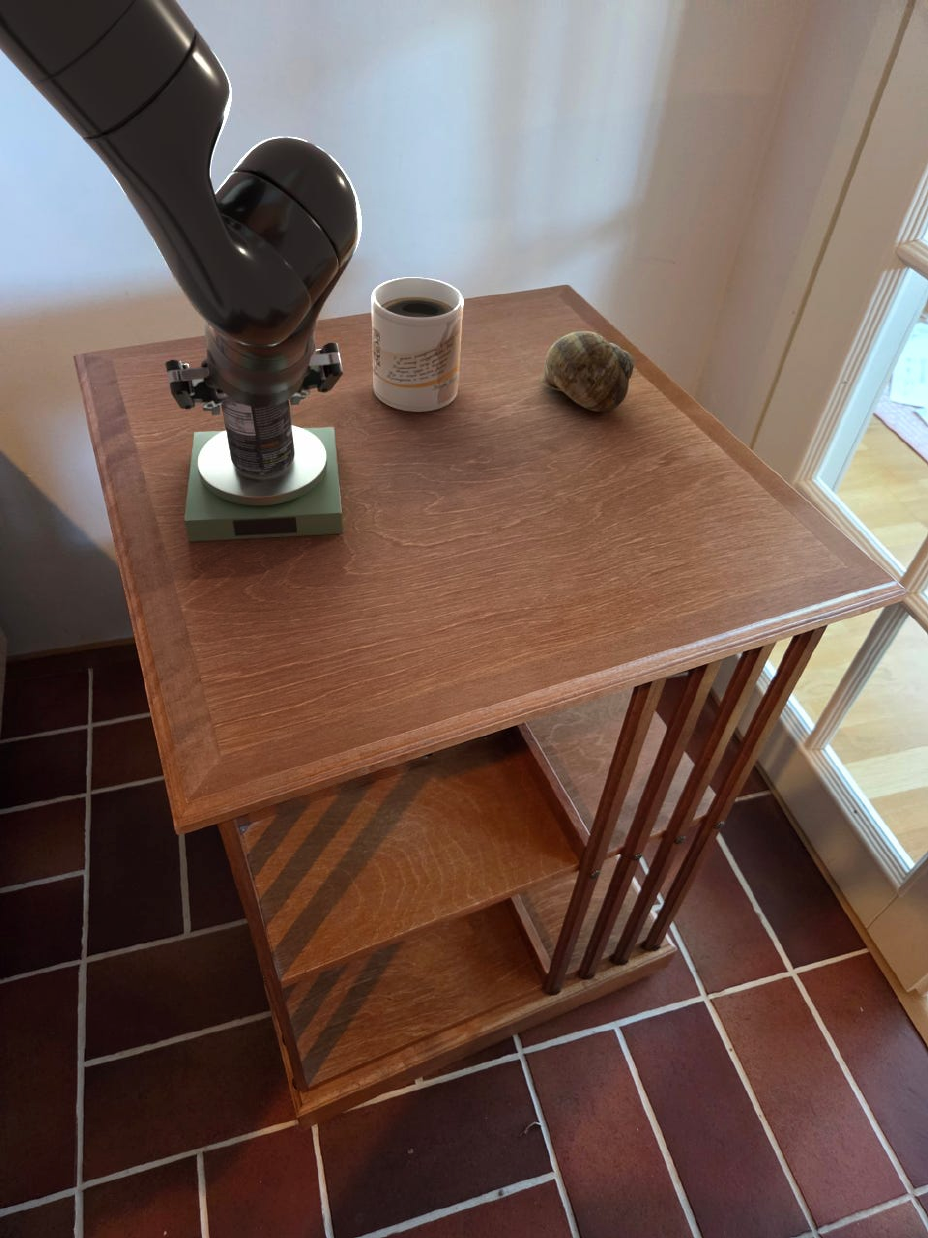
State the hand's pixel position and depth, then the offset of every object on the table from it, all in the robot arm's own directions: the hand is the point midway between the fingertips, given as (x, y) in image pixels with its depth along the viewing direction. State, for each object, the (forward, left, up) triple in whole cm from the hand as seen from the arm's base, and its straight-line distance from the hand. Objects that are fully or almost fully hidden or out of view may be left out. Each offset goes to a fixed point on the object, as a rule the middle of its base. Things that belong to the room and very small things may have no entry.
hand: (253, 398), depth 76 cm
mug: (+17, +17, -10) cm, 26 cm away
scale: (0, -2, -9) cm, 9 cm away
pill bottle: (0, -2, -6) cm, 6 cm away
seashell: (+36, +13, -10) cm, 40 cm away
